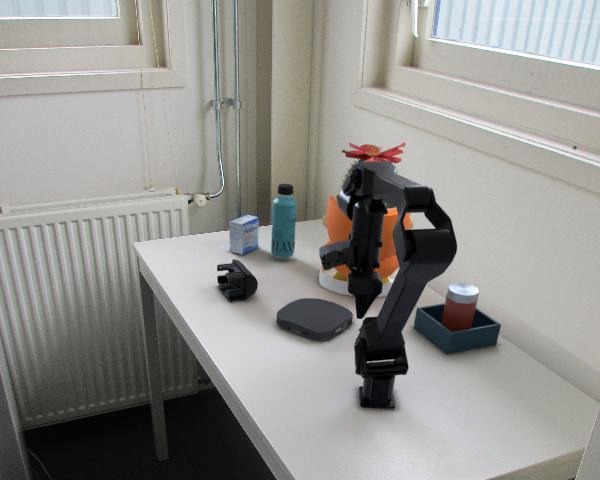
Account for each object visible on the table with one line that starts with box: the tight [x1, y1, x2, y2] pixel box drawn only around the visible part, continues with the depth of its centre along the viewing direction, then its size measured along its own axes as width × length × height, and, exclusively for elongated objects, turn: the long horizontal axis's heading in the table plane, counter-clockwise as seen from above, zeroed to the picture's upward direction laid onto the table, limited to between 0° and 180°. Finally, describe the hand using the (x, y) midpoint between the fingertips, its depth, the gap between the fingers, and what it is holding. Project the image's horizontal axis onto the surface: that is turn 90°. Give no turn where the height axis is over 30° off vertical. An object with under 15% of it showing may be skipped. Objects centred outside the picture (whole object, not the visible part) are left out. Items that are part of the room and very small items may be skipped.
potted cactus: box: [318, 141, 415, 298], centre depth 162 cm, size 22×22×35 cm
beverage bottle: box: [270, 183, 298, 258], centre depth 179 cm, size 6×7×20 cm
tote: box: [413, 302, 502, 355], centre depth 150 cm, size 13×13×5 cm
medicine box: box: [228, 214, 260, 256], centre depth 186 cm, size 8×4×9 cm, turn 148°
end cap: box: [216, 258, 259, 303], centre depth 162 cm, size 10×7×7 cm
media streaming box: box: [275, 297, 354, 341], centre depth 152 cm, size 15×15×3 cm
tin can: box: [441, 282, 480, 332], centre depth 148 cm, size 7×7×11 cm
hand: (358, 308), depth 133 cm, fingers open, 9 cm apart
